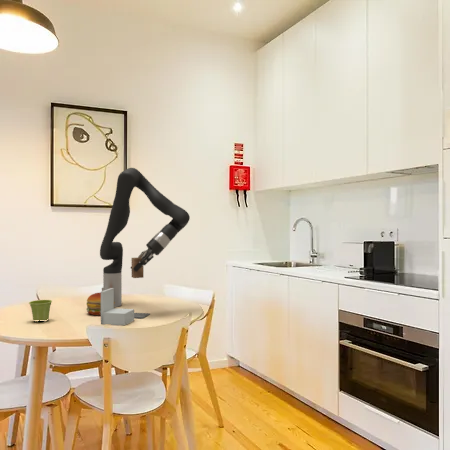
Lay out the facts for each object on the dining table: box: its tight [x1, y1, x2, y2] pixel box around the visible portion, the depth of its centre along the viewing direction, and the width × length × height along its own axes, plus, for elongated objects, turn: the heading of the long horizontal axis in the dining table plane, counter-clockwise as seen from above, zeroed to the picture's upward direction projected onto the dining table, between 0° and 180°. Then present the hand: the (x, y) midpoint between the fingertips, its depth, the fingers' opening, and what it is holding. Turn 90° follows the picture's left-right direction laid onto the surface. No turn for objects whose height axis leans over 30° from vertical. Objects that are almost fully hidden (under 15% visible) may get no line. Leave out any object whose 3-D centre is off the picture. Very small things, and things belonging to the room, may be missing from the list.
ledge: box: [100, 288, 135, 326], centre depth 196 cm, size 11×10×14 cm
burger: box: [86, 292, 116, 316], centre depth 214 cm, size 13×14×10 cm
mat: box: [134, 312, 151, 319], centre depth 208 cm, size 9×9×1 cm
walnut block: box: [131, 257, 144, 279], centre depth 208 cm, size 4×4×9 cm
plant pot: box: [28, 299, 53, 321], centre depth 197 cm, size 9×9×9 cm
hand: (133, 269), depth 207 cm, fingers closed on walnut block, 4 cm apart
